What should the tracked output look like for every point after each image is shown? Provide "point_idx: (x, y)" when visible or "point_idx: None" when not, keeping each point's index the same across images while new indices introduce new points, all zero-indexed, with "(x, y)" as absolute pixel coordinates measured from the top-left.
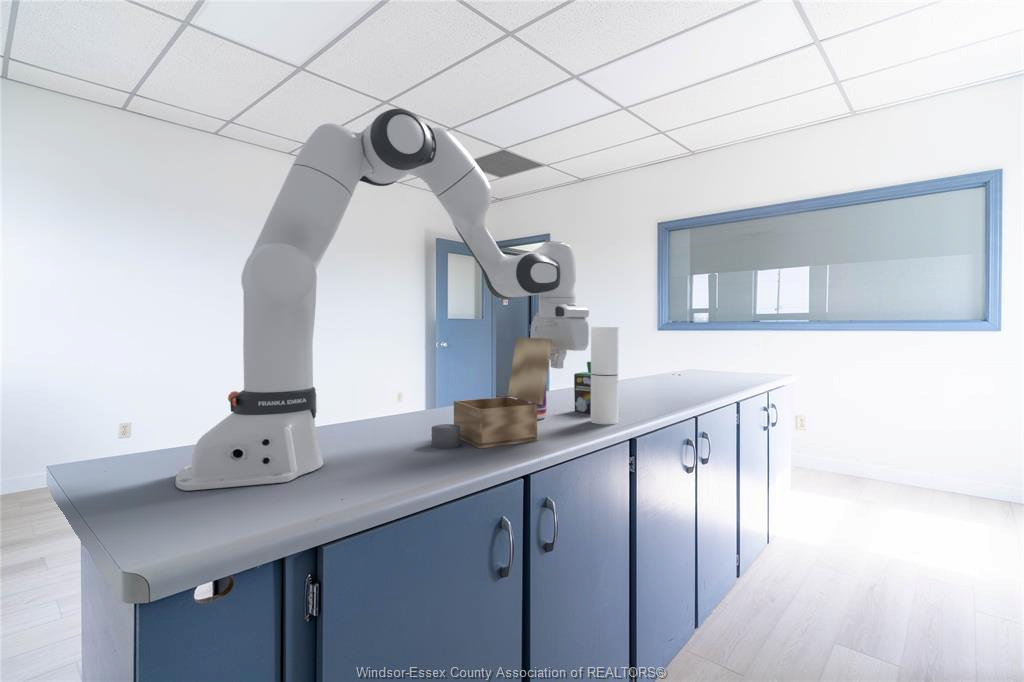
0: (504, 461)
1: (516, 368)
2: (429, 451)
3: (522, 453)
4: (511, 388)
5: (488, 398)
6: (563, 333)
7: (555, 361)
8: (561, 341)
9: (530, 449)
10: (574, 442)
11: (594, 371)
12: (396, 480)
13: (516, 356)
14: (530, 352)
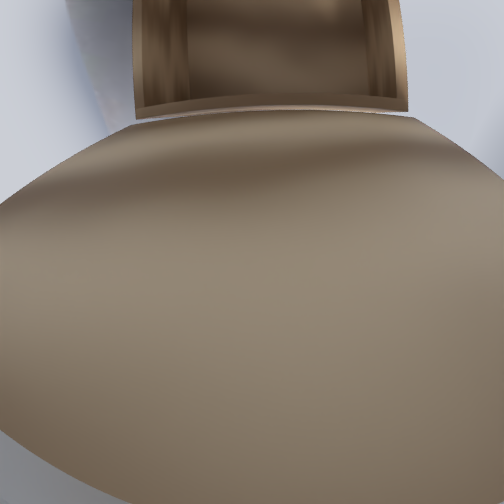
0: (80, 6)
1: (417, 155)
2: None
3: (106, 45)
4: (399, 122)
5: (394, 14)
6: (5, 497)
7: None
8: (45, 466)
9: (124, 70)
10: None
11: None
12: None
13: (500, 211)
14: (140, 234)
